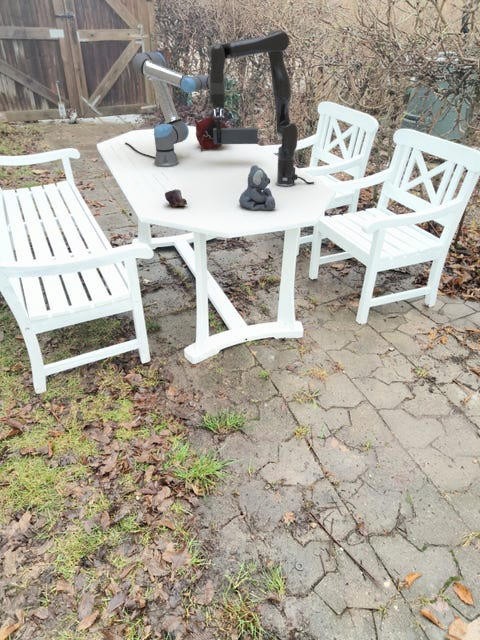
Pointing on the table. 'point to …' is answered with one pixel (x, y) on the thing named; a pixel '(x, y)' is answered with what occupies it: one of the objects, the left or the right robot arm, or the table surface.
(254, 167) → the koala plush
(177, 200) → the rock
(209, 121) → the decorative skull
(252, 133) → the bar
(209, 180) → the table surface
